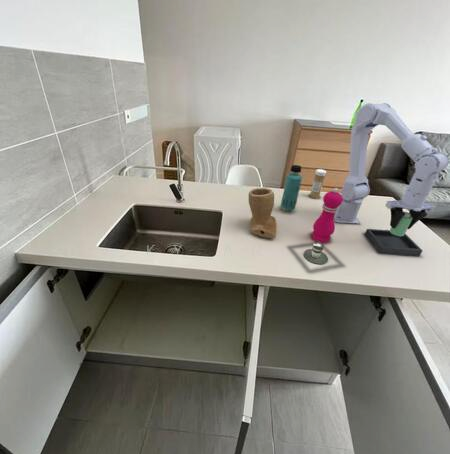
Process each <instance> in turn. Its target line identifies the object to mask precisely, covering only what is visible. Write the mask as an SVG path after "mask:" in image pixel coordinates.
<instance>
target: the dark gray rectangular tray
mask: <svg viewBox="0 0 450 454" xmlns="http://www.w3.org/2000/svg"><path fill="white" fill-rule="evenodd" d="M364 235H365V236H366V238H367V239H368V241H369V242H370V243H371V244H372V246H373V247H374V248H375V250H376V251H377V253H379V254H385V255H397V256H410V257H411V256H412V257H420V256H421V254H422V253H423V249H422V248H421V247H420V246H419V245H418V244H417V243H416V242H415V241H414V240H413V239H411V237H410V236H408V234H407V233H405V234H404V236H396V235H393V234H392V233H391V232H390V229H389V230H388V229H378V228H377V229H375V228H366V230H365V233H364Z"/></svg>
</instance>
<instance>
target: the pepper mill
mask: <svg viewBox="0 0 450 454" xmlns="http://www.w3.org/2000/svg"><path fill="white" fill-rule="evenodd" d="M342 201H343V198H342V195H341V192H339V188H338V187H334V188H333V189H332V191H331V190H330V191H328V192H326V193H325V194H324V195H323V198H322V207H321V208H322V211H321V214H320V215H319V217H318V218H317V219H316V220H315V222H314V223H313V225H312V229H313V231H312V233H311V238H312V239H313V240H314V241H315V242H320V243H322V244H326V243H329V242H330V240H331V236H332V235H333V234H334V233H335V229H336V226H335V225H336V224H335V220H334V215H335V212H337V211H338V206H340V205H341V204H342Z"/></svg>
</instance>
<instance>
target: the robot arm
mask: <svg viewBox="0 0 450 454" xmlns="http://www.w3.org/2000/svg"><path fill="white" fill-rule="evenodd" d="M378 126H385V127H386V128H387V129H389V131H390V132H392V133H393V135H394V136H396V138H397V139H399V140H400V141H401V149H402V150H403V152H405V154H406V155H407V156H408V157H409V158H410V159H411V160H412V161H413V162H414V169H415V171H414V173H413V175H412V177H411V180H410V181H409V184H408V186H407V188H406V190H405V192H404V195H403V196H402V199H397V200H387V201H386V203H385V207H386V208H387V209H388V210H389V211H390V222H389V226H390V228H391V227H392V228H395V227H396V226H397V224H398V222H399V221H400V219H401V218H402V217H403V216H404V215H405V213H404V212H405V211H404V210H409V211H408V213H410V214H411V216H412V217H413V219H412V221H411V223H410V225H409V227H408V229H407V230H410V229H411V228H412V227H414V225H415V224H417V223H418V222H419V221H420V220H422V219H424V218H426V217H427V215H428V213H427V212H426V211H428V212H430V213H431V212H432V213H433V212H434V210H435V209H436V205H434V204H433V203H426V200H427V198H428V197H429V194H430V192H431V191H432V189H433V187H434V185H435V183H436V181H437V179H438V177H439V175H440V173H441V172H442V171H444V170H445V169H446V168H447V167H448V166H449V163H450V161H449V158H448V156H447V154H446V153H445V152H440V151H439V149H438V148H437V147H434V146H433V145H431V143H430V142H429V141H428V136H426V135H425V134H423V135H422V134H420V133H414V132H413V131H412V130H411V129H410V127H408V125H407V124H406V123H405V122H404V121H403V119H402V118H401V117H400V116H399V115H398V113H397V111H396V109H394V108H393V107H392V106H391V104H389V103H388V102H387V103H386V102H383V103H372V102H369V103H365V104H363V105H362V106H360V108H359V109H358V110H356V112H355V120H354V122H353V125H352V126H351V131H350V147H349V167H348V168H349V169H348V176H347V178H346V179H345V180H344V181H343V185H342V188H341V190H340V194H341V195H342V198H343V201H342V204H341V205H340V206H338V211H337V212H335V215H334V223H343V224H354V225H355V224H357V225H359V224H360V222H359V220H358V219H357V216H358V214H359V211H360V209H361V206H362V204H363V202H364V199H365V198H367V197H368V196H369V195H370V193H371V188H370V185H369V179H368V178H367V176H366V164H367V153H368V151H367V150H368V137H369V133H370V132H371V131H372V130H374V128H376V127H378Z"/></svg>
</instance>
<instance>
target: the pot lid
mask: <svg viewBox="0 0 450 454" xmlns="http://www.w3.org/2000/svg"><path fill="white" fill-rule="evenodd" d="M324 246H325V245H324V243H321V242H318V241H314V242H313V243H312V247H311V248H308V249H306V250H304V251H303V256H304V258H305V259H306V261H308V262H310V263H312V264H314V265H325V264H326V263H328V261H329V257H328V255H327V254H326V253H325V252H323V250H324Z"/></svg>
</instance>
